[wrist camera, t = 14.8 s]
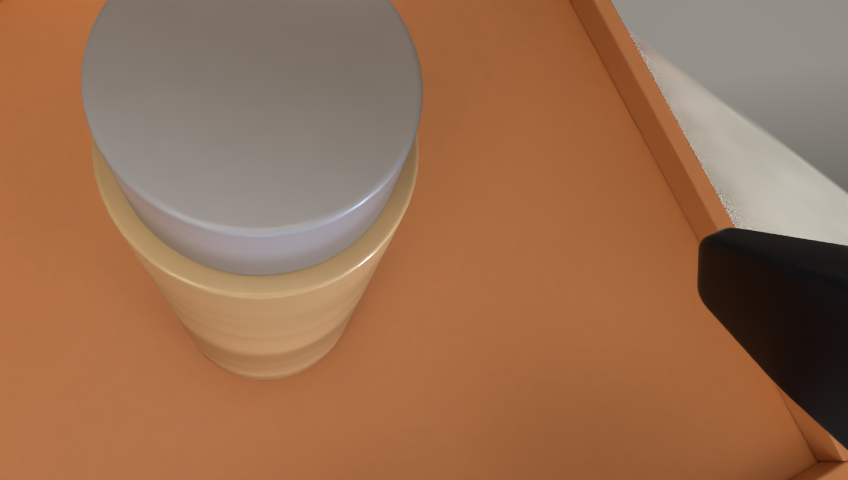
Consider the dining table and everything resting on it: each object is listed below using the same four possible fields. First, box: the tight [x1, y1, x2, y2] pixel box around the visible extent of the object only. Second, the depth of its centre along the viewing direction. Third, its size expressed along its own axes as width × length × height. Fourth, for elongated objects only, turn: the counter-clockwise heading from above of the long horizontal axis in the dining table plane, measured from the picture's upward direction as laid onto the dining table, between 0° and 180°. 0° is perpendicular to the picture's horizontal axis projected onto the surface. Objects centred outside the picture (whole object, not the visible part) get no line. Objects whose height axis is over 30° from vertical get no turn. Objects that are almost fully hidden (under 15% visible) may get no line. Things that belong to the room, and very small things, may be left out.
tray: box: [0, 0, 848, 480], centre depth 21 cm, size 23×27×2 cm
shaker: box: [81, 0, 423, 381], centre depth 15 cm, size 5×5×13 cm
